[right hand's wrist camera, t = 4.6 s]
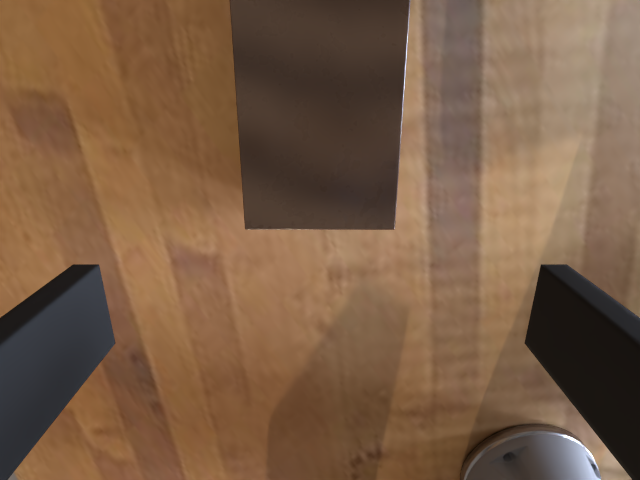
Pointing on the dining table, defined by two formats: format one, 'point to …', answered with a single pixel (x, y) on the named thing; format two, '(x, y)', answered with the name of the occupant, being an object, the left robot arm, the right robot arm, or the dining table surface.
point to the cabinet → (320, 111)
